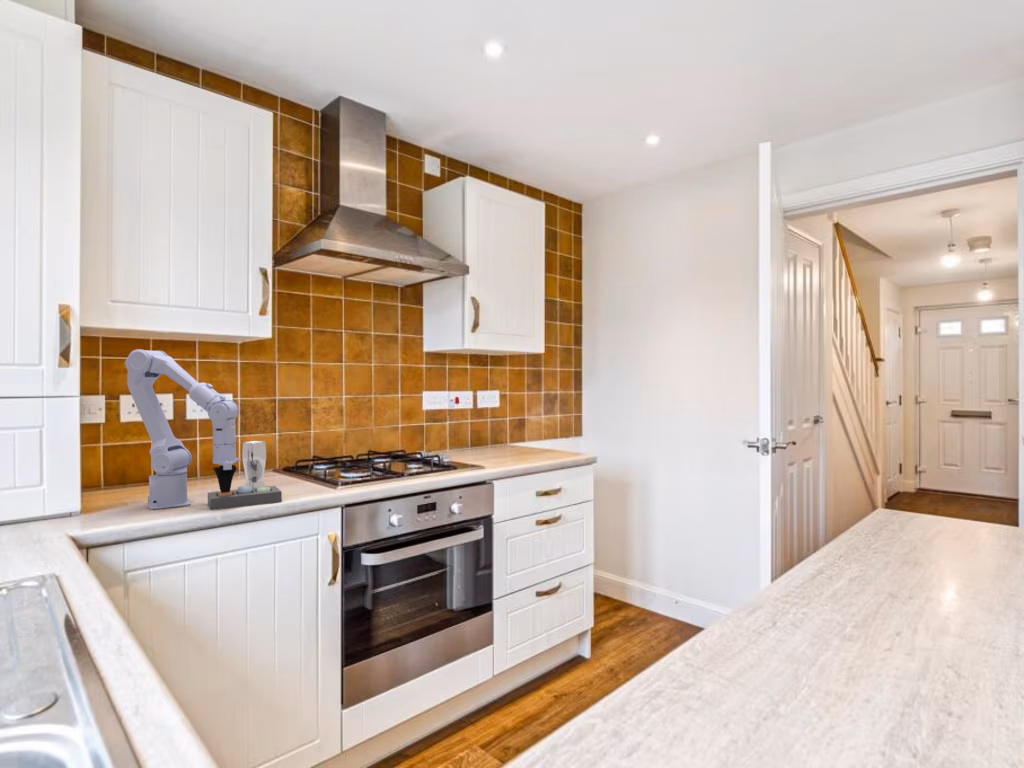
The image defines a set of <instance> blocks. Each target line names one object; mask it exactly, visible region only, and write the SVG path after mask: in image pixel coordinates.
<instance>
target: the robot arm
mask: <svg viewBox="0 0 1024 768" xmlns="http://www.w3.org/2000/svg"><path fill="white" fill-rule="evenodd" d="M124 365H125V368H126V370H127V381H126V382H127V383H126V384H127V388H128V391H129V393H130V395H131V398H132V400H133V401H134V404H135V407H136V409H137V411H138V413H139V416H140V418H141V420H142V422H143V424H144V427H145V429H146V433H148V436H149V438H150V441H151V443H152V445H151V447H150V450H149V455H150V458H151V459H150V466H151V469H152V470H153V471H154V472H155V473H156V474H154V475H153V474H151V475H149V476H148V487H149V490H148V493H149V494H148V496H147V503H149V510H158V509H168V508H177V507H187V506H190V505H191V504H190V500H189V499H188V473H187V472H188V467H190V465H191V464H192V459H193V458H192V457H193V456H192V454H191V451H190V450H188V449H187V448H186V447H185V445H184V443H183V442H182V441H181V440H180V439H178V438H177V437H176V436H175V435H174V433H173V430H172V429H171V426H170V424H169V422H168V419H167V417H166V415H165V413H164V410H163V408H162V405H161V403H160V401H159V399H158V396H157V395H156V394H157V393H156V392H155V389H154V387H153V385H154V384H155V382H156V380H157V379H158V378H159V377H160V376H161V375H165V376H167V377H168V378H169V379H171V380H172V381H174V382H175V383H176V384H178V385H179V386H180V387H182V388H183V389H185V390H187V391H188V393H189V394H188V396H189V399H190V400H192V401H193V402H194V403H196V405H198V406H199V407H200V408H201V409H202V410H205V412H207V416H208V419H209V420H210V421H211V422H212V423H211V424H212V462H211V463H212V464H213V465H219V466H216V467H213V468H212V469H213V471H214V473H215V475H216V477H217V481H218V486H219V489H220V491H221V493H226V492H230V490H231V488H232V483H233V478H234V475H235V472H236V471H237V466H236V465H235V463H237V462H241V457H237V454H236V453H237V449H236V448H237V447H236V446H237V445H236V443H237V442H236V441H237V440H236V438H237V437H236V436H237V435H236V434H237V433H236V431H237V430H236V418H237V417H238V416H239V413H240V410H239V406H238V404H237V403H236V402H235V401H234V400H232V399H226V398H227V397H226V396H225V395H222V394H220V393H219V392H218V391H216V390H215V389H214V388H213V387H214V386H213V385H212V384H211V383H206V382H199V381H197V380H196V379H195V378H194V377H193V376H192V375H190V374H189V373H188V372H187V371H186V370H185V369H184V368H182V366H180V365H179V364H178V362H176V361H175V360H174V358H173V357H172V356H170V355H168V354H167V353H166V352H165V351H163V350H145V349H139V348H137V349H133V350H132V351H130V353H129V354H128V356H127V358H126V360H125V361H124ZM220 491H219V492H220Z"/></svg>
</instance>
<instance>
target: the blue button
mask: <svg viewBox="0 0 1024 768" xmlns="http://www.w3.org/2000/svg"><path fill="white" fill-rule="evenodd" d="M237 490H238V494H245V493H252V486H245V485H240V486H238V487H237Z"/></svg>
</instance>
